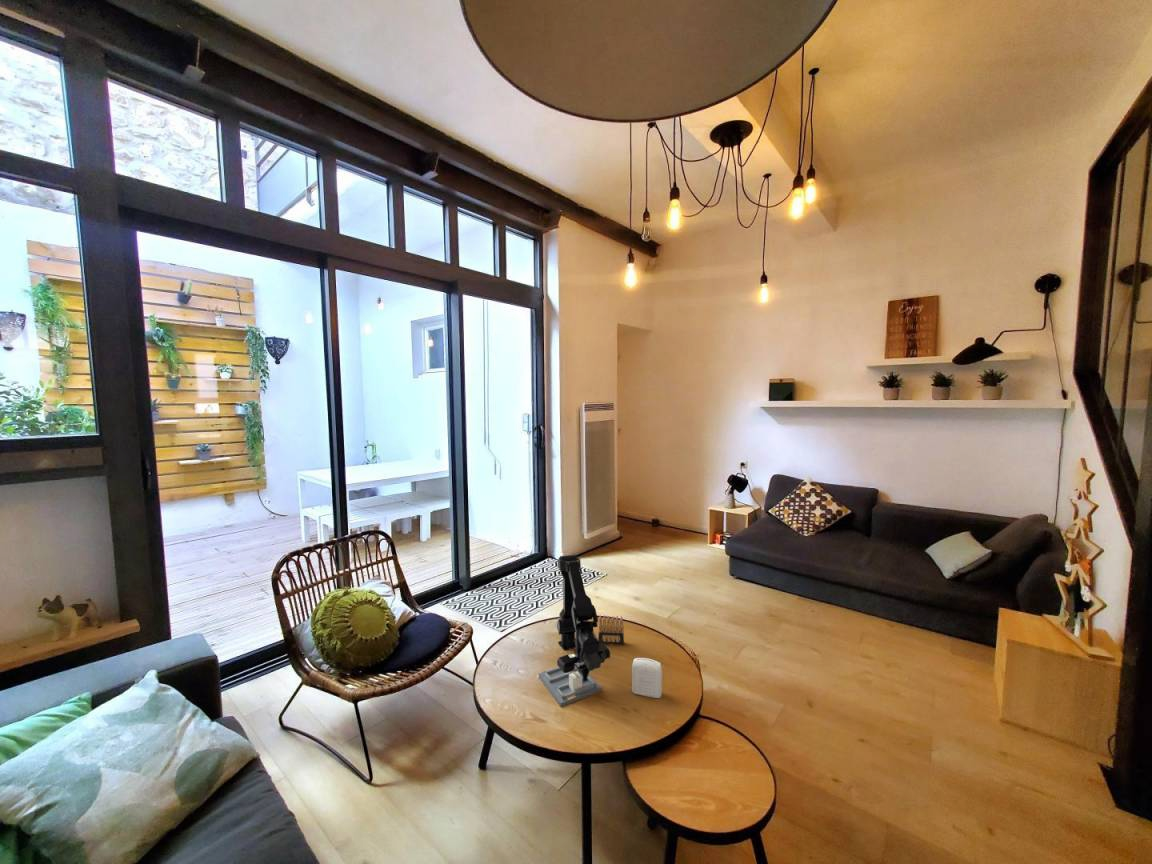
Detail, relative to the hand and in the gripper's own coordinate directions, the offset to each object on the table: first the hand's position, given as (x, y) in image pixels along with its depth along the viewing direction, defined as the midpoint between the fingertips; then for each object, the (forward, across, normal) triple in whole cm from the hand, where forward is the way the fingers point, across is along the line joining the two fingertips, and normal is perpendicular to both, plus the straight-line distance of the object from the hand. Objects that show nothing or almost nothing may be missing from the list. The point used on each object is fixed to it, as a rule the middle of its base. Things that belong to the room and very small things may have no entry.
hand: (584, 680), depth 157 cm
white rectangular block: (+2, 0, +10) cm, 10 cm away
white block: (+2, -4, 0) cm, 4 cm away
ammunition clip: (+3, +24, +19) cm, 30 cm away
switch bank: (+3, -4, +5) cm, 7 cm away
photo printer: (+3, +17, -13) cm, 22 cm away
